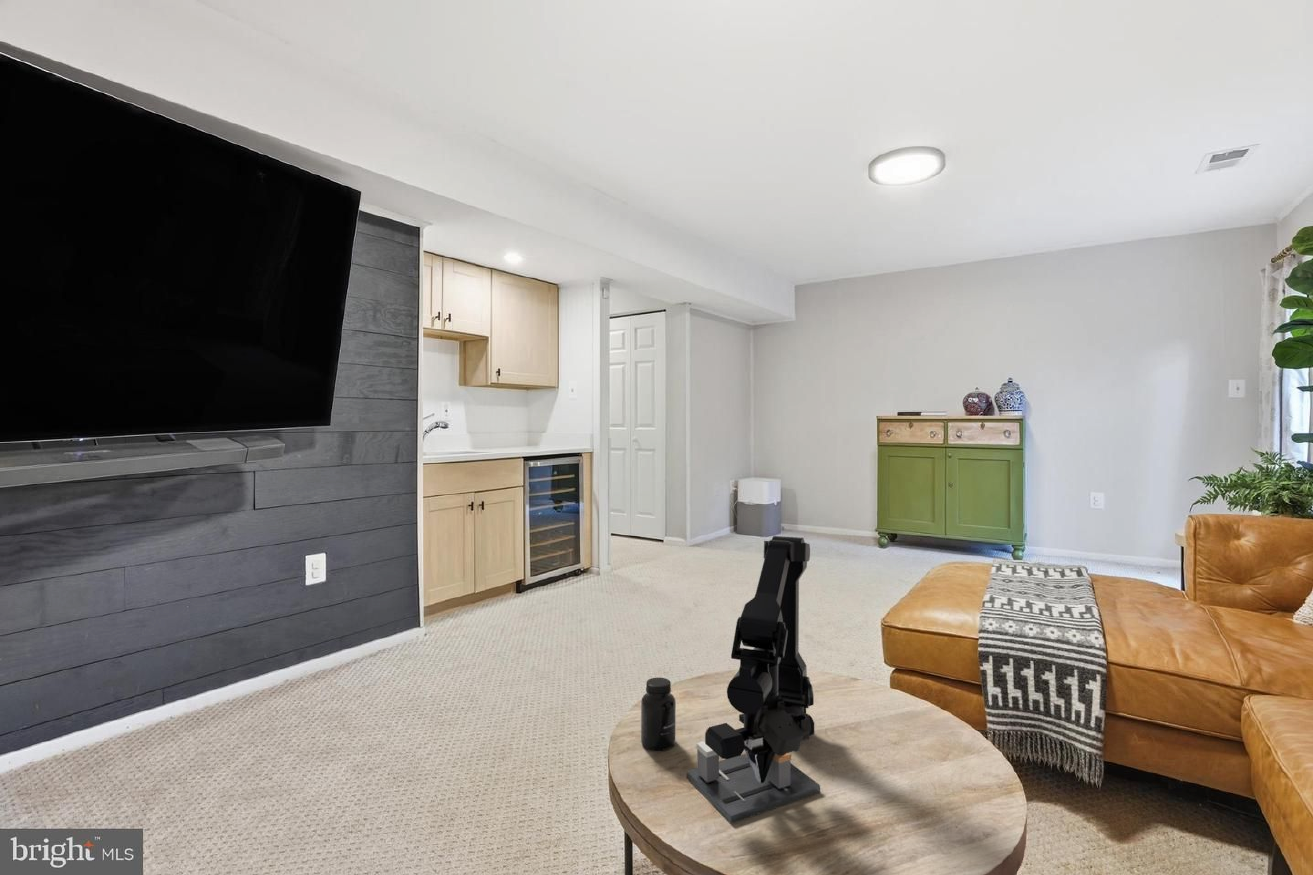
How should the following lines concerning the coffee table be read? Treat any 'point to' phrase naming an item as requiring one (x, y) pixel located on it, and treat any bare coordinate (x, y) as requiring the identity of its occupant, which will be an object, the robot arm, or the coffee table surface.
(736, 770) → the board
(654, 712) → the supplement bottle
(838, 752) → the coffee table surface
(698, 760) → the fader
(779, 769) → the fader
